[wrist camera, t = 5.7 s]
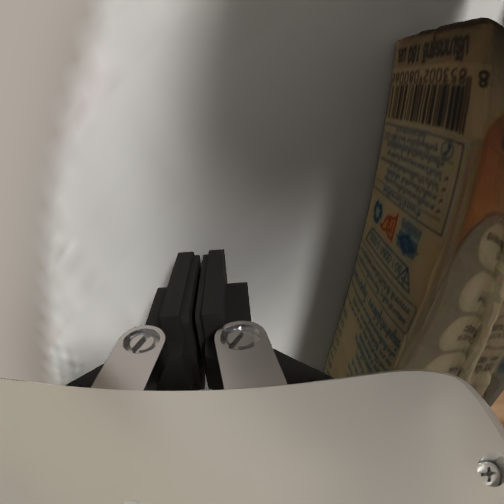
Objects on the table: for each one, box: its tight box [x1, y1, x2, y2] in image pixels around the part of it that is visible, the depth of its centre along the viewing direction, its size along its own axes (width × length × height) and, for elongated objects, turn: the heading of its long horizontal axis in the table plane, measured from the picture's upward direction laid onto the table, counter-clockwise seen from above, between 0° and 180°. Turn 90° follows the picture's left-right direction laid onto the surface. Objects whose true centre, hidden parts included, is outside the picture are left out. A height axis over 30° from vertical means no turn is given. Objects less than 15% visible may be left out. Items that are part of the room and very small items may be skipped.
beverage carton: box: [323, 18, 504, 407], centre depth 11 cm, size 8×19×6 cm, turn 173°
